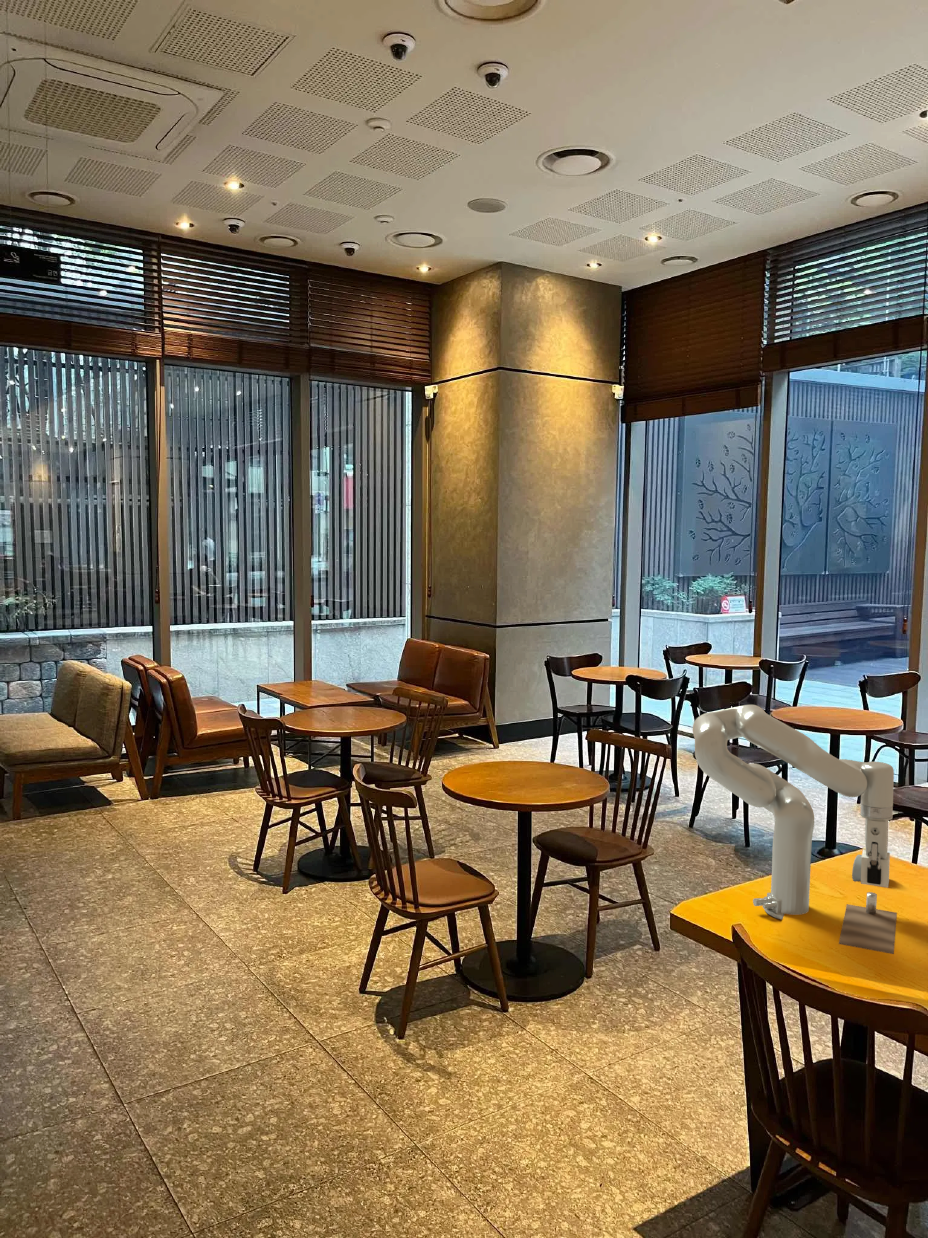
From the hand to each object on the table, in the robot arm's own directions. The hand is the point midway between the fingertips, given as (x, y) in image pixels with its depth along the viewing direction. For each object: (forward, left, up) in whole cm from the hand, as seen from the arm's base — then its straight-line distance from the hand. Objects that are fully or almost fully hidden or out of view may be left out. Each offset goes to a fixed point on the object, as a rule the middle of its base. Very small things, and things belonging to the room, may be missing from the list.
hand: (874, 878), depth 241 cm
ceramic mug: (+14, +23, -11) cm, 29 cm away
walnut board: (-6, -8, -11) cm, 15 cm away
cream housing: (0, 0, -1) cm, 1 cm away
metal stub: (0, 0, -9) cm, 9 cm away
